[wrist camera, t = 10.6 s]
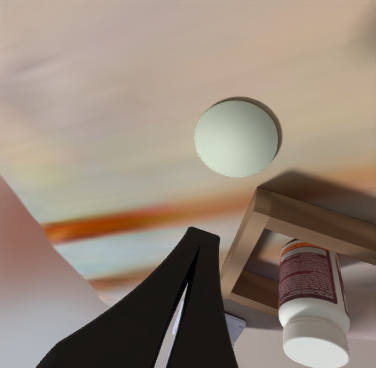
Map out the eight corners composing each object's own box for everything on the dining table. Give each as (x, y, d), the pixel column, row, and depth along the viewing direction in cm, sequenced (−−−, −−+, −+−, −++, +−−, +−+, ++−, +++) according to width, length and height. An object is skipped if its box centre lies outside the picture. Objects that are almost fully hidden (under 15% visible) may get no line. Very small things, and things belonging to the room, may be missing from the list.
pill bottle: (268, 253, 26) (262, 344, 20) (309, 228, 23) (317, 326, 17) (306, 280, 27) (312, 377, 20) (350, 259, 24) (374, 365, 17)
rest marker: (260, 184, 22) (260, 186, 22) (188, 161, 23) (187, 163, 22) (292, 114, 18) (292, 116, 18) (204, 89, 19) (203, 91, 19)
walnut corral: (308, 300, 28) (310, 329, 26) (221, 269, 29) (215, 294, 27) (375, 224, 21) (386, 255, 19) (257, 186, 22) (253, 211, 20)
